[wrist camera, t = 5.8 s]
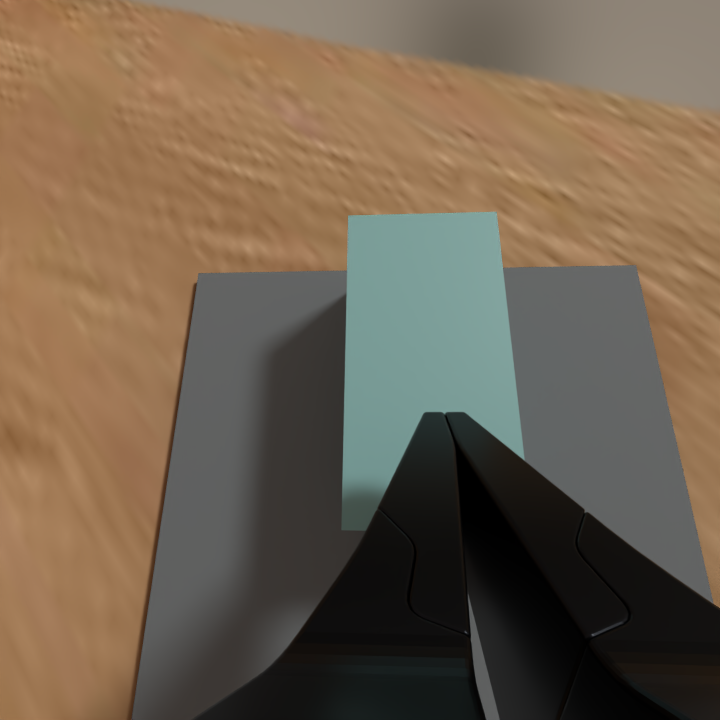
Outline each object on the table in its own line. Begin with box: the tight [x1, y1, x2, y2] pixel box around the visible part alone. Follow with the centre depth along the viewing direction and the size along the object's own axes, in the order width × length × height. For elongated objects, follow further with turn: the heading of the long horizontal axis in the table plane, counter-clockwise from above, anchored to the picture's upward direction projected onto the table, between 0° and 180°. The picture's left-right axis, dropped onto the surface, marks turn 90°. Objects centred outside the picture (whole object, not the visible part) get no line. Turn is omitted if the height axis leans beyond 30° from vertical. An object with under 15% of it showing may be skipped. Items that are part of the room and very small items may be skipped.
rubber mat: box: [132, 265, 713, 720], centre depth 14 cm, size 20×18×1 cm
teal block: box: [341, 212, 525, 531], centre depth 13 cm, size 4×4×9 cm
